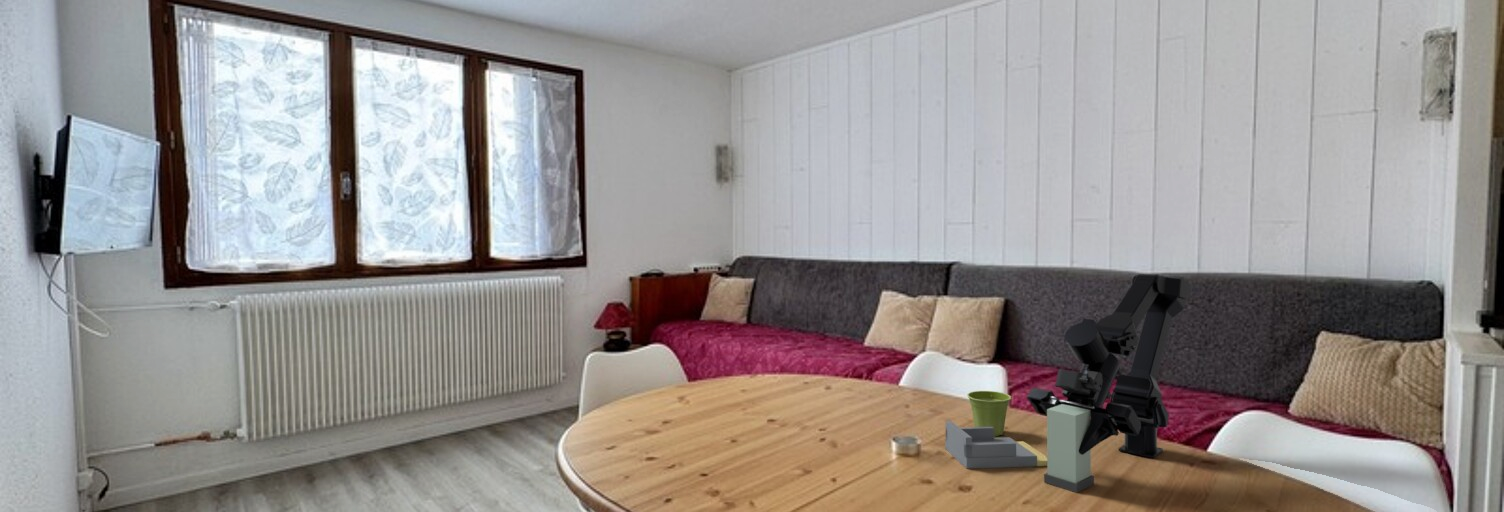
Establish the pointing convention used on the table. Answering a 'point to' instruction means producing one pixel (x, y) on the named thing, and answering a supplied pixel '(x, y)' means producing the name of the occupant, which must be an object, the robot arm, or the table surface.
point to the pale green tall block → (1067, 448)
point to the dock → (989, 449)
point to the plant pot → (989, 409)
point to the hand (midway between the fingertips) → (1064, 449)
